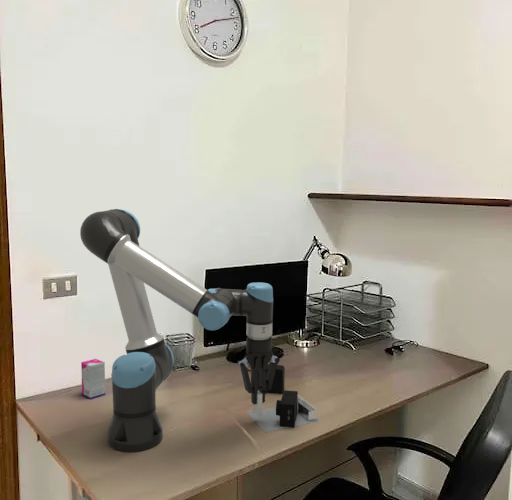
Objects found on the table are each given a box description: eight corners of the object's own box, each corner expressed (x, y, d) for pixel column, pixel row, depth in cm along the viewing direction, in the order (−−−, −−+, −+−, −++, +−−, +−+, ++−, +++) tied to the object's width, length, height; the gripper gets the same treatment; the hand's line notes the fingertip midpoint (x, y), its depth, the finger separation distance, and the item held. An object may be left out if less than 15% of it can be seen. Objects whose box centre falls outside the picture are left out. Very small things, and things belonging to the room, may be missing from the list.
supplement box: (106, 394, 187) (105, 361, 185) (90, 399, 183) (89, 366, 181) (97, 389, 191) (95, 357, 189) (81, 394, 186) (80, 362, 185)
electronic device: (282, 398, 184) (282, 369, 183) (253, 396, 186) (253, 367, 185) (284, 393, 188) (284, 365, 187) (255, 391, 190) (255, 363, 189)
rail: (308, 421, 164) (308, 410, 163) (289, 406, 175) (289, 395, 174) (317, 419, 165) (317, 408, 164) (297, 404, 176) (298, 393, 175)
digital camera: (279, 411, 171) (280, 389, 170) (297, 412, 170) (297, 390, 169) (275, 426, 161) (275, 403, 160) (294, 427, 160) (294, 404, 159)
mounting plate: (265, 437, 157) (265, 432, 157) (246, 417, 170) (246, 412, 170) (320, 425, 164) (320, 420, 164) (297, 407, 177) (297, 403, 177)
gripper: (243, 342, 154) (242, 422, 157) (285, 337, 159) (283, 414, 163) (233, 335, 161) (232, 412, 164) (273, 330, 166) (272, 405, 170)
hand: (257, 413), depth 163 cm, fingers closed
